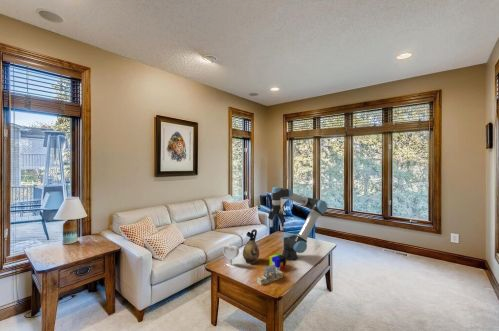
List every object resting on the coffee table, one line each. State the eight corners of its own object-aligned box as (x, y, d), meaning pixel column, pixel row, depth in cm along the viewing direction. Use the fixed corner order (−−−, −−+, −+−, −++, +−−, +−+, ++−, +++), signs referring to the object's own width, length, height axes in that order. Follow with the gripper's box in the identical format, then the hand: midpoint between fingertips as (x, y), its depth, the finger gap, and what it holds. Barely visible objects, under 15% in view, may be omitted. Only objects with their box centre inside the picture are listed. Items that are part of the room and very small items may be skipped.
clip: (273, 276, 190) (273, 264, 190) (275, 277, 187) (275, 266, 187) (264, 279, 185) (264, 267, 185) (266, 281, 182) (266, 268, 182)
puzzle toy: (277, 271, 201) (277, 259, 200) (269, 267, 209) (269, 256, 208) (285, 268, 206) (285, 257, 206) (277, 264, 214) (277, 253, 214)
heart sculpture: (222, 264, 214) (222, 244, 213) (225, 262, 218) (225, 243, 218) (236, 268, 206) (236, 248, 205) (239, 266, 210) (239, 246, 210)
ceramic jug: (251, 266, 210) (251, 233, 209) (239, 261, 220) (239, 229, 220) (263, 261, 222) (264, 229, 222) (251, 256, 233) (252, 226, 232)
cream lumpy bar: (278, 275, 194) (278, 270, 194) (282, 277, 190) (282, 272, 190) (257, 282, 182) (257, 277, 182) (260, 285, 178) (260, 280, 178)
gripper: (264, 203, 217) (264, 226, 217) (283, 207, 197) (283, 232, 197) (270, 202, 221) (270, 224, 222) (289, 206, 201) (289, 230, 202)
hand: (276, 228), depth 210 cm, fingers open, 13 cm apart
